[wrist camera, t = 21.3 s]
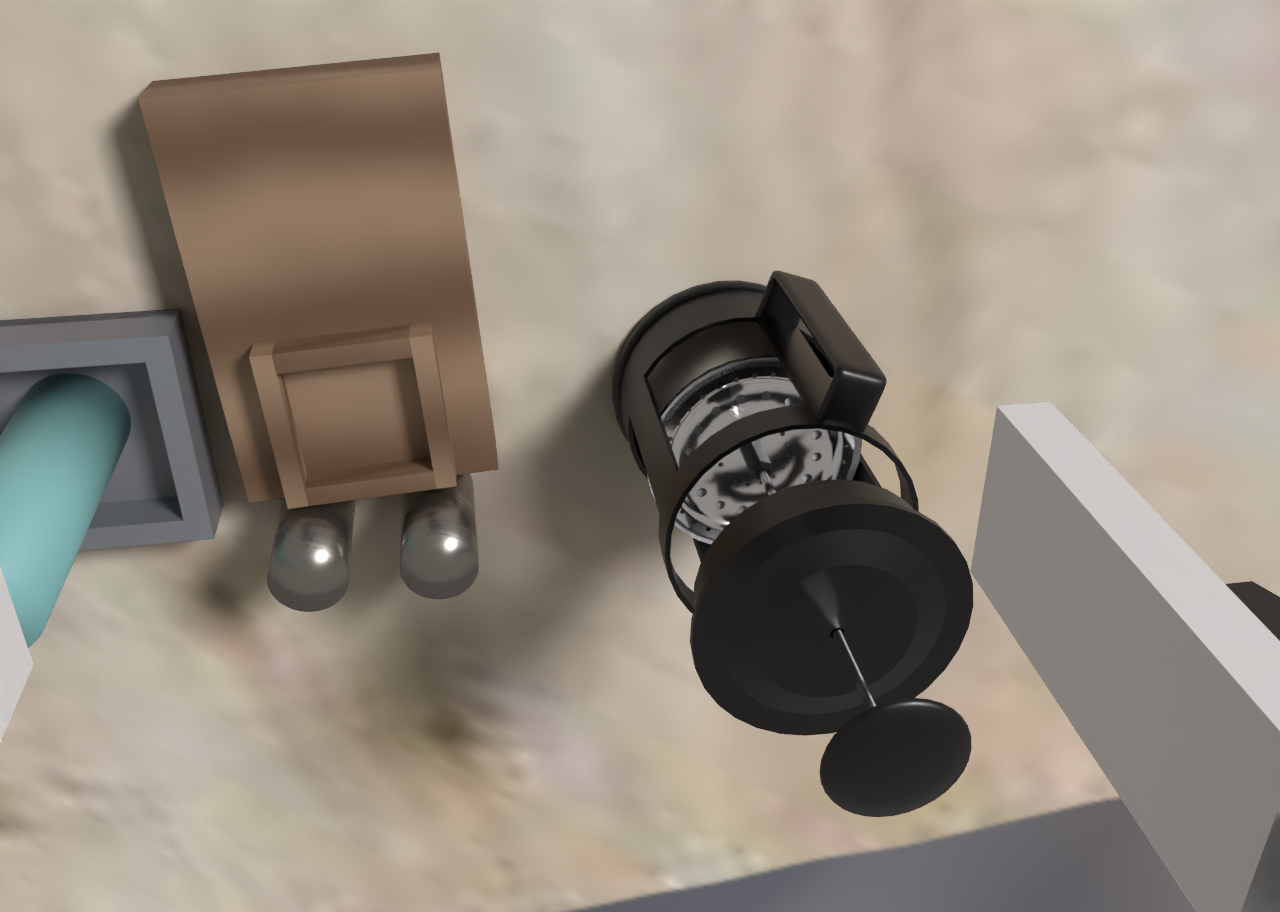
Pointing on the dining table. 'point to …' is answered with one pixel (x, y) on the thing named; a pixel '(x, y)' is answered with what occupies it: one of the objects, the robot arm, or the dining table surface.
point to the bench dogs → (322, 537)
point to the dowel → (54, 485)
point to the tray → (159, 410)
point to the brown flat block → (329, 274)
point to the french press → (802, 542)
